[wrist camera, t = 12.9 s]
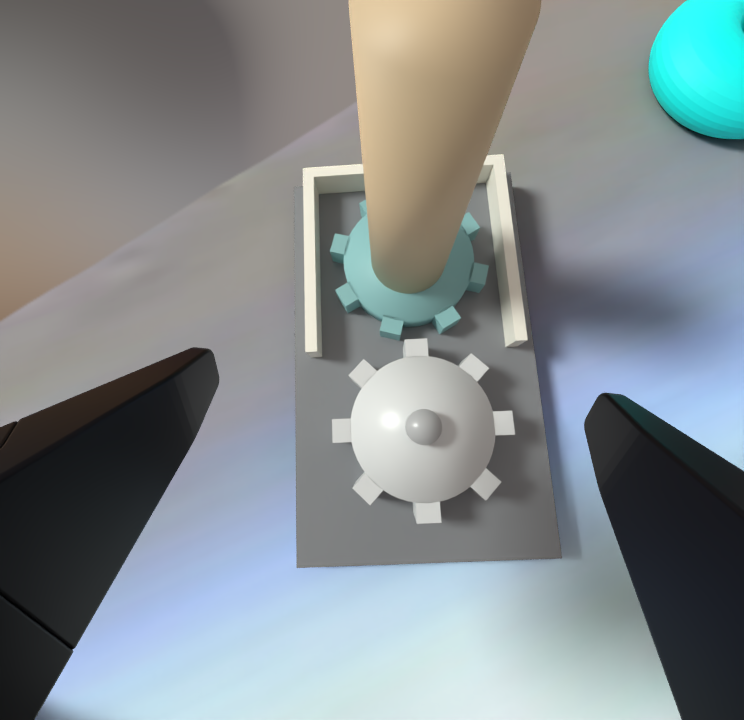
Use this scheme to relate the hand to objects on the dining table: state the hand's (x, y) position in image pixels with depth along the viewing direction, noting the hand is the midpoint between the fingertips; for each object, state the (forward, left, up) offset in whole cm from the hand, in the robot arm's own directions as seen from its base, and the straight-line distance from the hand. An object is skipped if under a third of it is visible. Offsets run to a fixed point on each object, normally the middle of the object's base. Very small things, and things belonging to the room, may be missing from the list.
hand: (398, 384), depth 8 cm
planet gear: (+8, -1, -11) cm, 13 cm away
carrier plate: (+3, -1, -12) cm, 12 cm away
